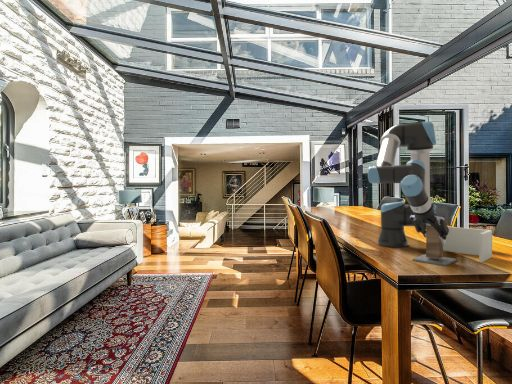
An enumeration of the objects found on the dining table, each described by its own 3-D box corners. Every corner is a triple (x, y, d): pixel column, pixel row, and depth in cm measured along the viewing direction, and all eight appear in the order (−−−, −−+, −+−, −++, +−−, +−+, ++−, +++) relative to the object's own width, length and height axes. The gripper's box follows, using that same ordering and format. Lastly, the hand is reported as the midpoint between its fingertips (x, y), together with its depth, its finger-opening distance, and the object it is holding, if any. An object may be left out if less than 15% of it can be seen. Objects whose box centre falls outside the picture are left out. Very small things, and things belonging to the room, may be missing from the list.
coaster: (412, 260, 141) (412, 258, 140) (424, 255, 149) (424, 254, 149) (444, 266, 131) (444, 264, 131) (456, 260, 139) (456, 258, 139)
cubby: (482, 262, 136) (482, 234, 135) (426, 253, 153) (426, 228, 152) (492, 256, 145) (492, 230, 144) (438, 249, 162) (438, 225, 161)
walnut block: (438, 259, 136) (438, 226, 136) (426, 257, 140) (426, 225, 140) (443, 257, 140) (443, 225, 139) (430, 255, 143) (431, 224, 143)
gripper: (396, 212, 136) (414, 246, 147) (443, 215, 122) (458, 252, 133) (402, 199, 139) (419, 233, 150) (448, 201, 125) (463, 237, 137)
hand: (437, 241), depth 142 cm, fingers closed on walnut block, 5 cm apart
